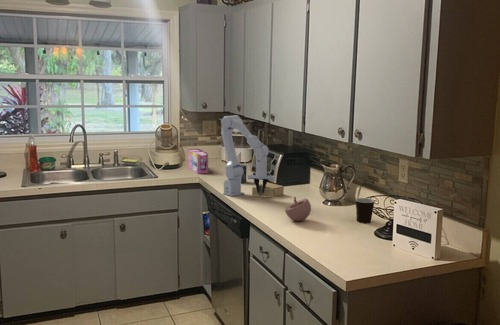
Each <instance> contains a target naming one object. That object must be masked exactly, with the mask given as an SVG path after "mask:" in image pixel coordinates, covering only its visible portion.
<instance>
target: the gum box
mask: <svg viewBox="0 0 500 325" xmlns="http://www.w3.org/2000/svg"><path fill="white" fill-rule="evenodd" d="M187 154H188V156H187V158H188V169H190V170H191V171H193V172H194V173H196V174H198V175H199V174H202V175H203V174H209V153H208V152H206V151H204V150H202V149H200V148H189V149H188V153H187Z"/></svg>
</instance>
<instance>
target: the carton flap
mask: <svg viewBox="0 0 500 325" xmlns="http://www.w3.org/2000/svg"><path fill="white" fill-rule="evenodd" d="M260 184H261V185H259V193H257V188H256V186H253V187H252V188H251V195H252V196H255V197H256V196H257V197H266V198H268V197H269V198H274V197H273V189H267V188H265V190H264V193H262V191H263V188H262V186H263V183H260Z"/></svg>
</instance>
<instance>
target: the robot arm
mask: <svg viewBox="0 0 500 325" xmlns="http://www.w3.org/2000/svg"><path fill="white" fill-rule="evenodd" d="M220 123H221V128H220V130H221V131H220V133H221V137H222V142H223V147H224V152H225V155H226V162H227V163H226V165H225V176H226V179H225V180H224V182H223V193H222V194H223V195H227V196H229V197H235V196H240V195H243V194H245V192H243V191H242V183H241V178H242V175H243V173H244V170H243V168H242V166H241V165H242V163H241V162H240V161H239V160H238V157H237V152H236V147H235V144H234V139H233V134H232V133H233V131H234V130H238V132H239V133H241V134H242V136H243V137H245V138H246V143H247V144H248V146H250V148H251V149H252V150H253V154H254V155H255V174H248V175H247V180H253V183H254V185H255V187H256V188H257V193H259V184H260V181H262V184H263V191H262V193H264V190H265V186H266V184H267V183H269V182H268V181H275V175H268V174H267V167H268V159H267V158H268V155H269V153H270V150H269V147H268V145H266V144H264V143H263V142H261V140H260V139H259V137H258V136H257V135H255V134H252V133H251V132H250V131H249V129H248V128H247V126H246V125H245V124H244V122H243V119H242V118H241V116H239V115H237V114H234V115H225V116H223V117H222V118H221V120H220ZM233 166H234V167H233Z"/></svg>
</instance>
